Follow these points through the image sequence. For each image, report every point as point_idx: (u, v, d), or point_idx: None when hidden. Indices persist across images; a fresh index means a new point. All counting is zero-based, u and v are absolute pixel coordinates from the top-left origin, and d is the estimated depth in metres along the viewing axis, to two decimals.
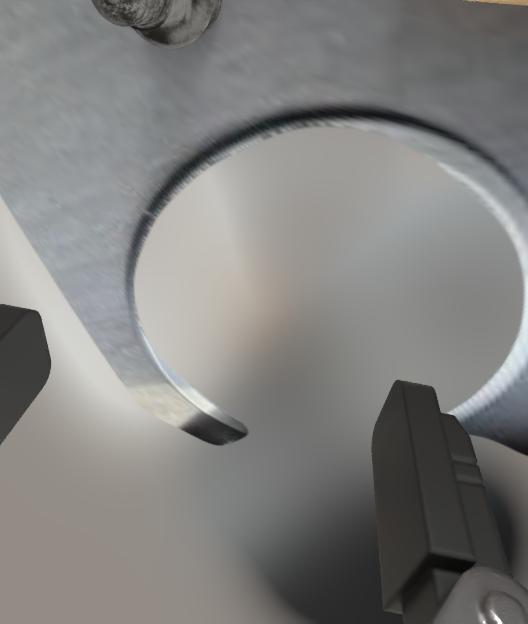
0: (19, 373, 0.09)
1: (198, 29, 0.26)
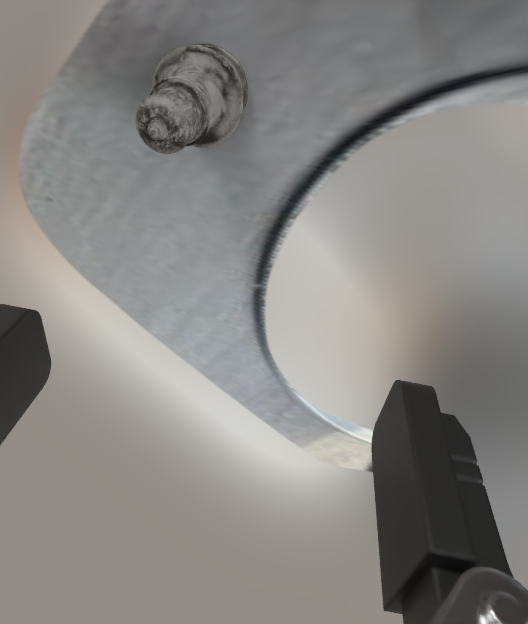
0: (19, 373, 0.09)
1: (237, 114, 0.27)
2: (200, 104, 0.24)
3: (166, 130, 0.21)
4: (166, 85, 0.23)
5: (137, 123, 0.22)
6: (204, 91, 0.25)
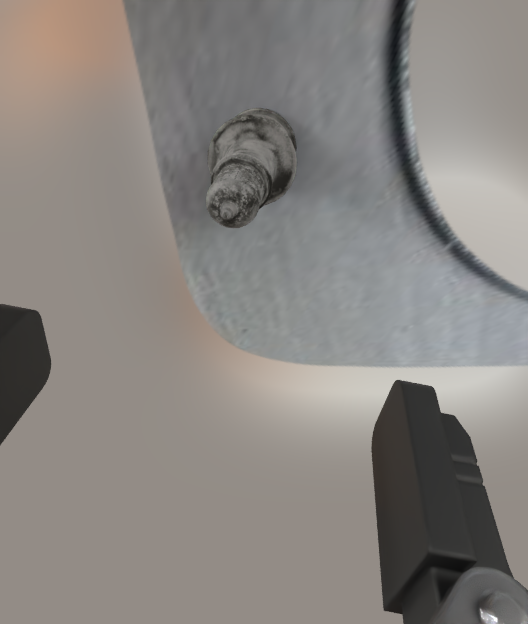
0: (19, 373, 0.09)
1: (284, 139, 0.27)
2: (245, 162, 0.24)
3: (234, 203, 0.22)
4: (216, 177, 0.25)
5: (216, 221, 0.23)
6: (244, 151, 0.26)
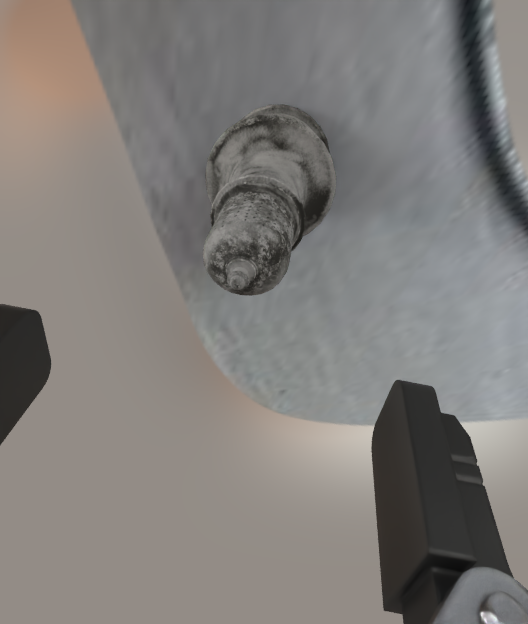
0: (19, 373, 0.09)
1: (315, 144, 0.18)
2: (260, 187, 0.15)
3: (249, 261, 0.13)
4: (218, 215, 0.16)
5: (223, 288, 0.15)
6: (256, 170, 0.17)
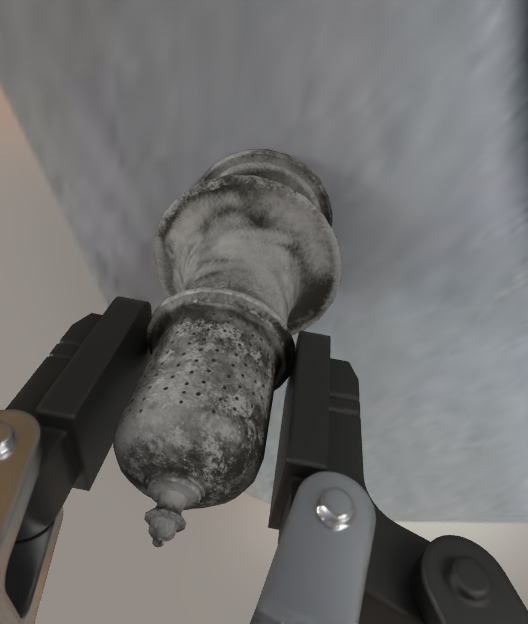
0: (136, 360, 0.10)
1: (311, 218, 0.12)
2: (220, 309, 0.09)
3: (187, 480, 0.07)
4: (157, 343, 0.10)
5: None
6: (219, 269, 0.11)
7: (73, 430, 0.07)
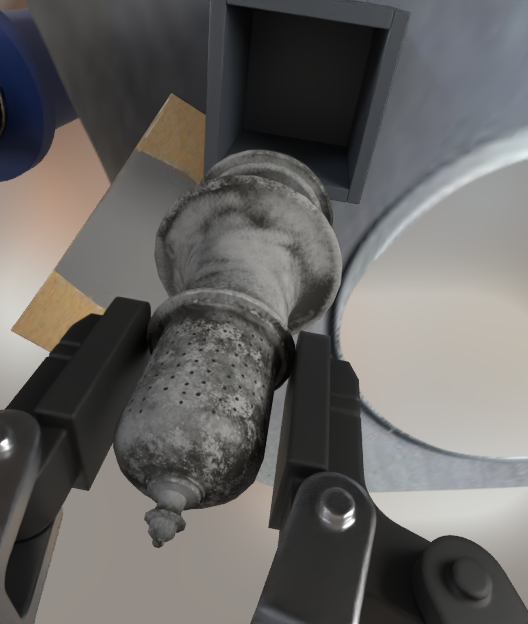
0: (135, 360, 0.10)
1: (311, 218, 0.12)
2: (220, 310, 0.09)
3: (186, 480, 0.07)
4: (157, 343, 0.10)
5: None
6: (219, 269, 0.11)
7: (72, 430, 0.07)
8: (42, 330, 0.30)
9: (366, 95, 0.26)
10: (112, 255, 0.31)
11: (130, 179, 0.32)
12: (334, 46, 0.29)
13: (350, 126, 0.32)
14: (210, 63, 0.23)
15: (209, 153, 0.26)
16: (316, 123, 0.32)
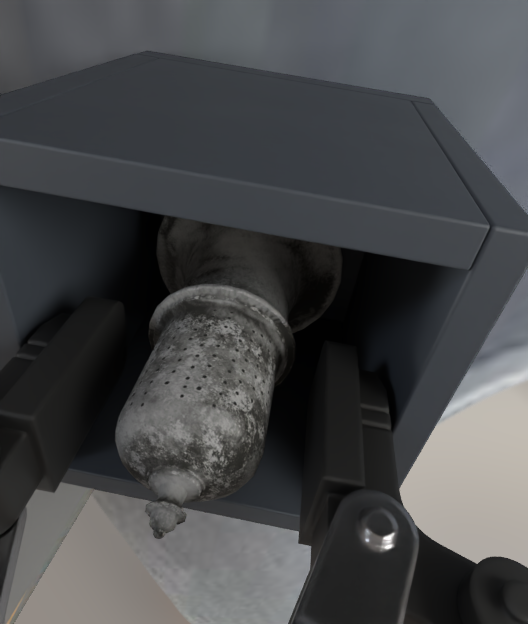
0: (107, 360, 0.10)
1: None
2: (221, 306, 0.10)
3: (187, 473, 0.07)
4: (158, 339, 0.10)
5: None
6: (220, 266, 0.11)
7: (32, 431, 0.07)
8: None
9: (384, 316, 0.12)
10: None
11: None
12: None
13: (349, 294, 0.18)
14: None
15: None
16: None
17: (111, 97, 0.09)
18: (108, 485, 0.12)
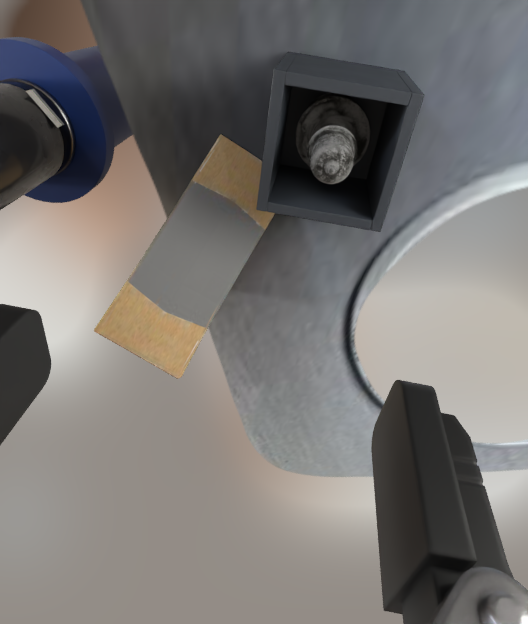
0: (19, 373, 0.09)
1: (359, 112, 0.33)
2: (335, 131, 0.30)
3: (336, 161, 0.28)
4: (311, 147, 0.31)
5: (319, 179, 0.30)
6: (330, 125, 0.32)
7: None
8: (119, 331, 0.37)
9: (386, 146, 0.33)
10: (174, 269, 0.38)
11: (188, 206, 0.39)
12: (358, 101, 0.36)
13: (369, 163, 0.39)
14: (268, 126, 0.30)
15: (262, 191, 0.32)
16: None
17: (303, 66, 0.30)
18: (286, 210, 0.33)
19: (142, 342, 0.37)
